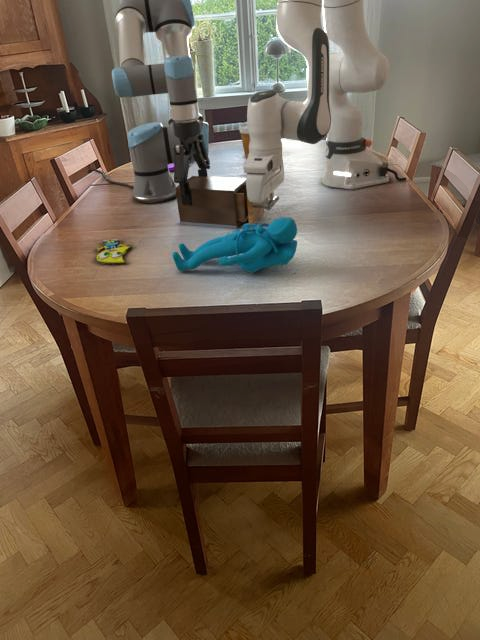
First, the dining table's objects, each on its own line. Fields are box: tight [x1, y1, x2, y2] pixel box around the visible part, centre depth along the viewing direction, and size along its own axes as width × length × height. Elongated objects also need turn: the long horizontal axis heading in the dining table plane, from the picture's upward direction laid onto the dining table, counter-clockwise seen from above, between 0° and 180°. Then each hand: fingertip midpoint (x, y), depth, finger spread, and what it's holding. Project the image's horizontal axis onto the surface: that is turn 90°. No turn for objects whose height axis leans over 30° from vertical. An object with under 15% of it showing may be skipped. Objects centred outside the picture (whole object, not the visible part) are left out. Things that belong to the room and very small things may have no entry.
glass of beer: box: [239, 123, 250, 159], centre depth 199 cm, size 10×10×12 cm
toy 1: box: [95, 238, 133, 265], centre depth 129 cm, size 10×1×15 cm
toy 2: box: [171, 217, 298, 274], centre depth 113 cm, size 17×11×30 cm
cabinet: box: [175, 175, 246, 229], centre depth 142 cm, size 18×11×11 cm, turn 68°
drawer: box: [235, 184, 280, 224], centre depth 139 cm, size 22×10×9 cm, turn 68°
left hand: (196, 197), depth 143 cm, fingers closed on cabinet, 11 cm apart
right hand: (268, 207), depth 136 cm, fingers closed, pressing on drawer
